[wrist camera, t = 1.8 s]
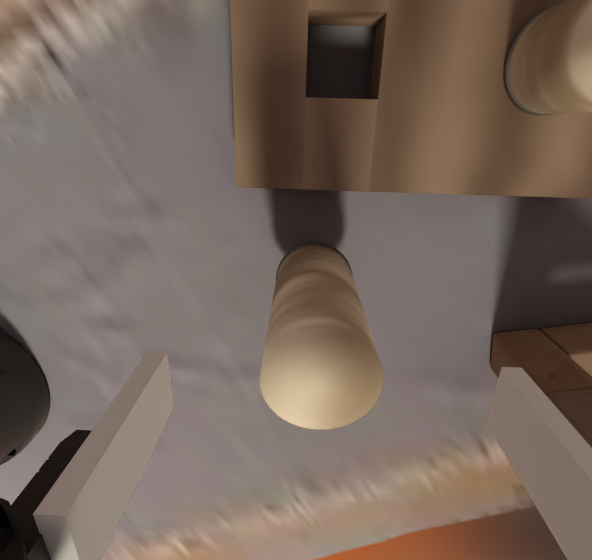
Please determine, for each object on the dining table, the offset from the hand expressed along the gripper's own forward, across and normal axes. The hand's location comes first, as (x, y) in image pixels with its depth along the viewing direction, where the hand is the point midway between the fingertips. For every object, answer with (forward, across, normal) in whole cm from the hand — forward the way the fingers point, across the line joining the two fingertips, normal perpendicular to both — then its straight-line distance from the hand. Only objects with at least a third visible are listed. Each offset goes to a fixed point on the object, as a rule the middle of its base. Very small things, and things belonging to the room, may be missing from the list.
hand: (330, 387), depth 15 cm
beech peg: (+14, -1, 0) cm, 14 cm away
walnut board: (+14, +5, +13) cm, 20 cm away
